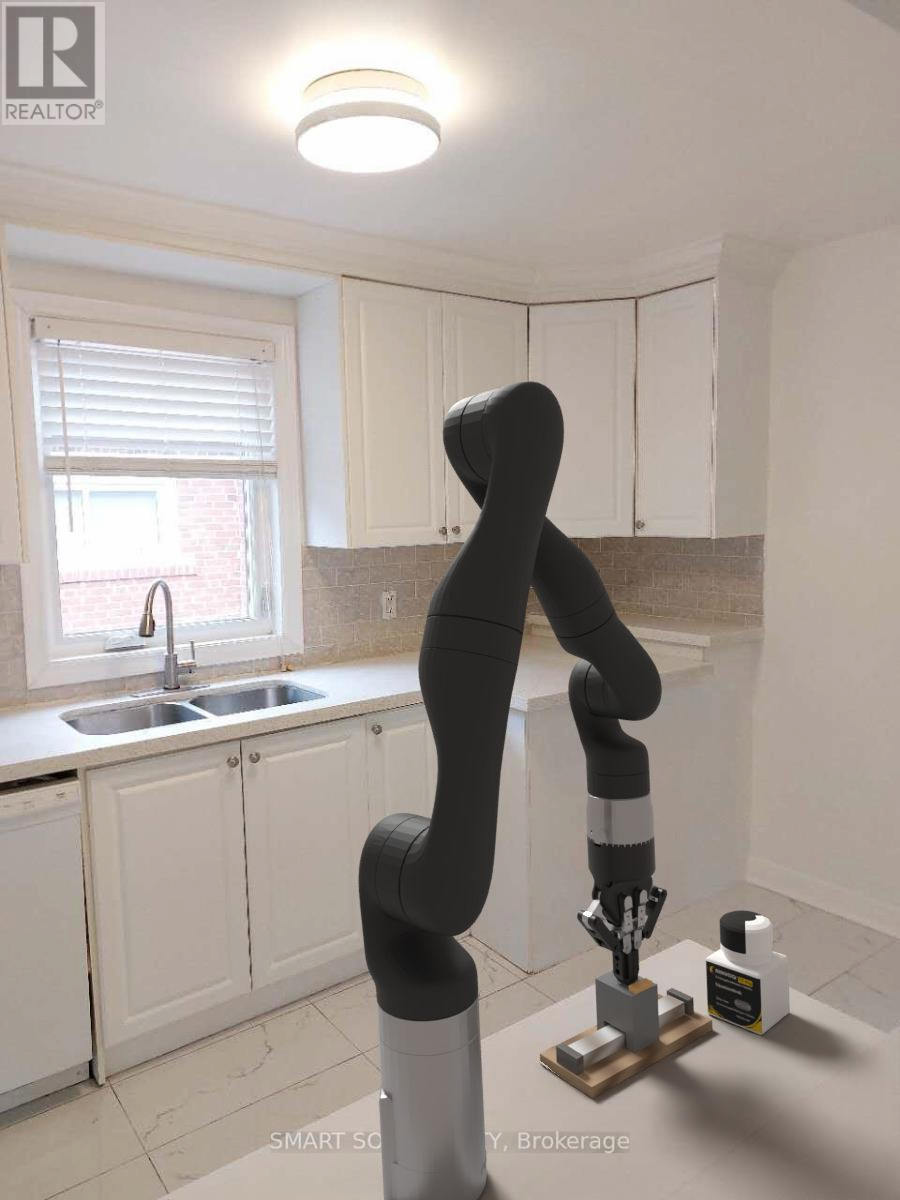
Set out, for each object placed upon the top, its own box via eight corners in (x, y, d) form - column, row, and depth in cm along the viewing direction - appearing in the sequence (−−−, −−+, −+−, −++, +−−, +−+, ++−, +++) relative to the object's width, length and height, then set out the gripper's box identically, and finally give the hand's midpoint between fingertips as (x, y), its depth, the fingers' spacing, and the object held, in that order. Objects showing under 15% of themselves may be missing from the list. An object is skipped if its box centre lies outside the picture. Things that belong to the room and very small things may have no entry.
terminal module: (634, 1053, 94) (631, 991, 93) (597, 1032, 98) (594, 973, 98) (659, 1039, 96) (657, 979, 96) (622, 1019, 101) (620, 962, 100)
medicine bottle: (706, 1014, 103) (703, 917, 103) (736, 993, 108) (733, 900, 107) (761, 1037, 98) (758, 934, 97) (791, 1013, 103) (788, 915, 102)
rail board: (592, 1098, 88) (590, 1070, 88) (540, 1064, 95) (539, 1037, 94) (712, 1029, 100) (711, 1004, 100) (659, 1003, 106) (658, 979, 106)
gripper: (634, 811, 103) (640, 951, 104) (554, 836, 95) (561, 987, 96) (684, 825, 97) (690, 973, 98) (603, 852, 89) (610, 1013, 90)
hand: (626, 980), depth 97 cm, fingers closed
